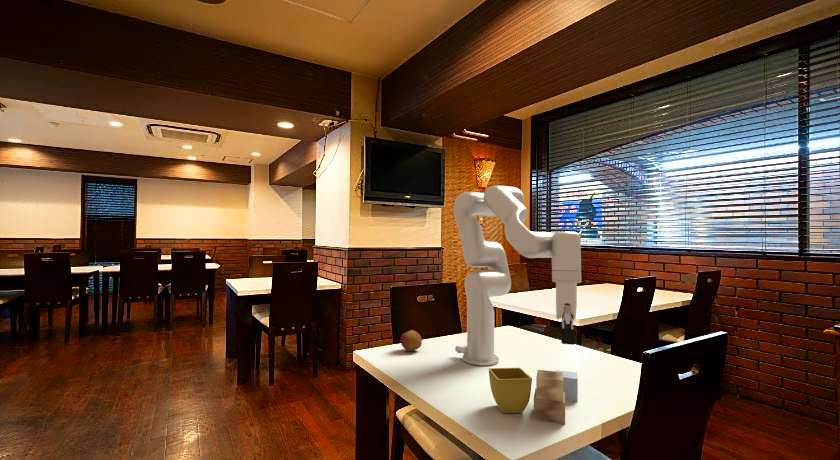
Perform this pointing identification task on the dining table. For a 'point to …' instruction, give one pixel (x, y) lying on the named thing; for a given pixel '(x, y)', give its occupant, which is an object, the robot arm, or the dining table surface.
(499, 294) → the robot arm
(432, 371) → the dining table surface
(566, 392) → the slate block
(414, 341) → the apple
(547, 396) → the oak middle block
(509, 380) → the flower pot
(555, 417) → the brown wooden block
